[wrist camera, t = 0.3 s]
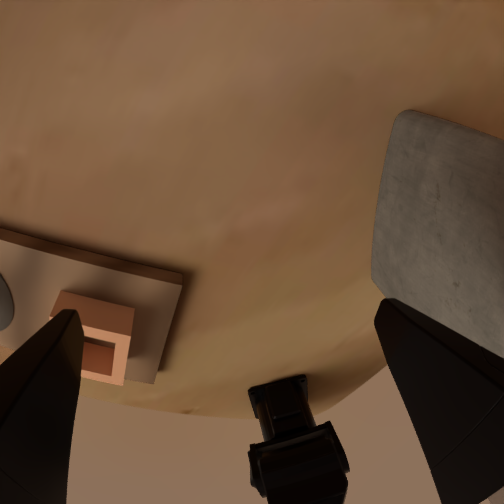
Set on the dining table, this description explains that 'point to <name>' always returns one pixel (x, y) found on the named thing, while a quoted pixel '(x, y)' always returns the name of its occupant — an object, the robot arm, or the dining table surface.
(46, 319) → the post board
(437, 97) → the dining table surface
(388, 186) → the hip flask
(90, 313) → the collar
